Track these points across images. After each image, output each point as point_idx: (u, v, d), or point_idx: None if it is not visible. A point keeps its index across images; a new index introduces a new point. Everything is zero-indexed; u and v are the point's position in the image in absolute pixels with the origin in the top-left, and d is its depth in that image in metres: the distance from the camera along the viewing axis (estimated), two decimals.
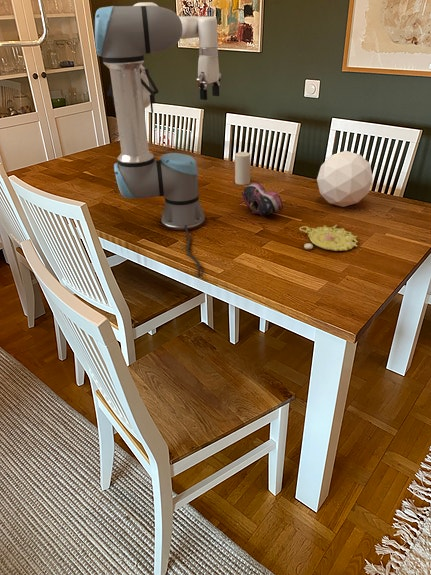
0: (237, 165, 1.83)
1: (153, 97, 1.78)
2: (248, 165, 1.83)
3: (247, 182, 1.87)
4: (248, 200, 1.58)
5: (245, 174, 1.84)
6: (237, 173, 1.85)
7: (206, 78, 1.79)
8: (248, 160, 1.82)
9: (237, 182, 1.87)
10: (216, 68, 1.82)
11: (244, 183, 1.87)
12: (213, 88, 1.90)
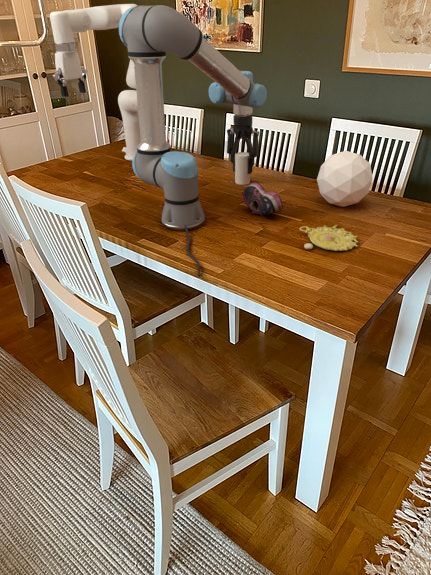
0: (237, 165, 1.83)
1: (251, 160, 1.81)
2: None
3: (247, 182, 1.87)
4: (248, 200, 1.58)
5: (245, 174, 1.84)
6: (237, 173, 1.85)
7: (64, 74, 1.75)
8: None
9: (237, 182, 1.87)
10: (76, 64, 1.78)
11: (244, 183, 1.87)
12: (79, 85, 1.86)
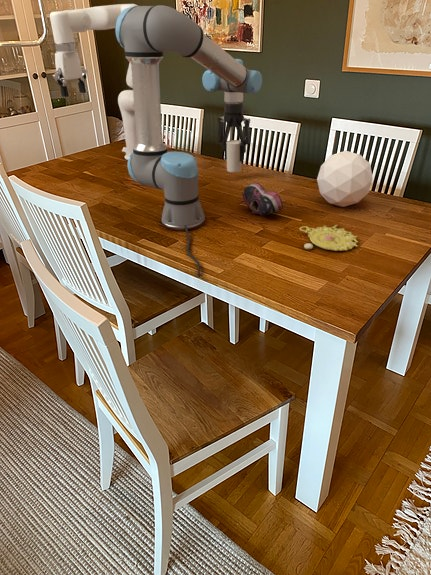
0: (229, 153, 1.86)
1: (243, 147, 1.84)
2: None
3: (239, 170, 1.90)
4: (248, 200, 1.58)
5: (237, 161, 1.87)
6: (229, 161, 1.87)
7: (64, 74, 1.75)
8: (239, 148, 1.85)
9: (229, 170, 1.90)
10: (76, 64, 1.78)
11: (236, 171, 1.89)
12: (79, 85, 1.86)
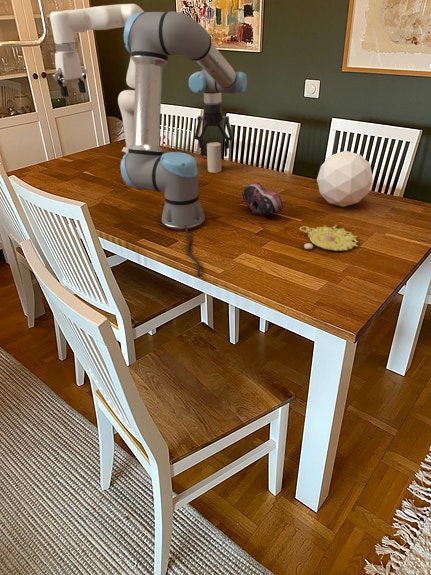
0: (210, 154, 1.97)
1: (227, 143, 1.96)
2: (220, 153, 1.99)
3: (220, 169, 2.02)
4: (248, 200, 1.58)
5: (218, 162, 1.99)
6: (211, 162, 1.99)
7: (64, 74, 1.75)
8: (220, 149, 1.97)
9: (211, 170, 2.01)
10: (76, 64, 1.78)
11: (218, 171, 2.01)
12: (79, 85, 1.86)
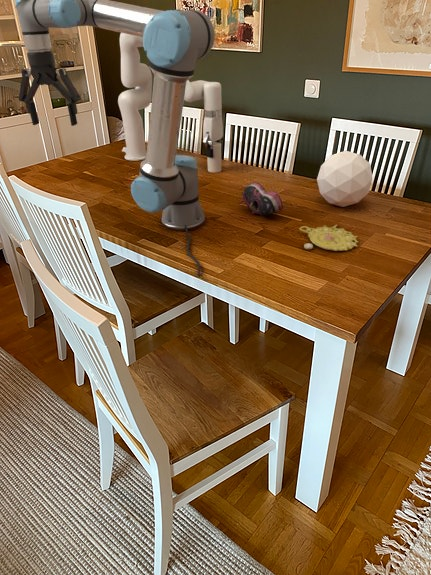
0: None
1: (73, 106, 1.39)
2: (220, 153, 1.99)
3: (220, 169, 2.02)
4: (248, 200, 1.58)
5: (218, 162, 1.99)
6: (211, 162, 1.99)
7: (211, 137, 1.91)
8: (220, 149, 1.97)
9: (211, 170, 2.01)
10: (220, 127, 1.94)
11: (218, 171, 2.01)
12: None
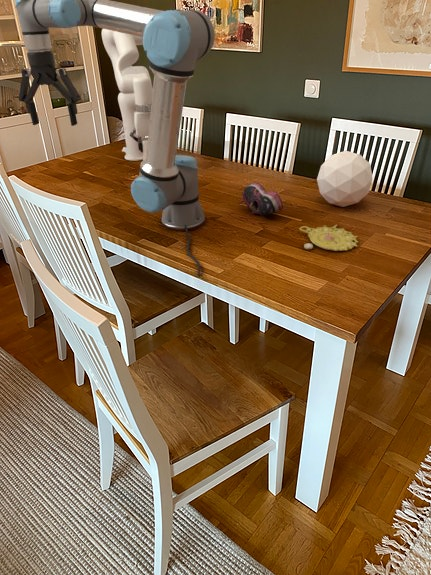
0: (142, 149, 1.96)
1: (73, 106, 1.39)
2: None
3: None
4: (248, 200, 1.58)
5: None
6: None
7: (136, 132, 1.91)
8: None
9: None
10: None
11: None
12: None
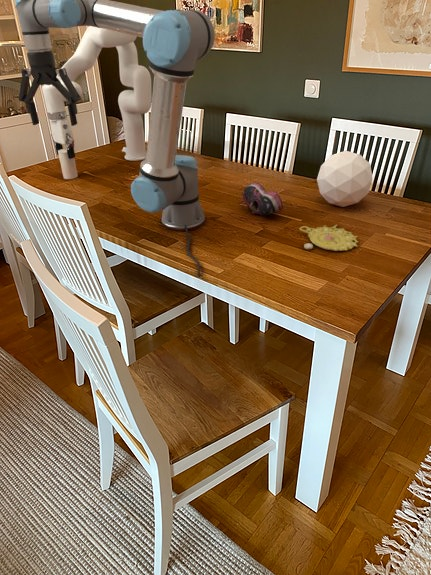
0: None
1: (73, 106, 1.39)
2: (61, 161, 1.95)
3: (64, 177, 2.00)
4: (248, 200, 1.58)
5: None
6: None
7: None
8: (59, 156, 1.94)
9: None
10: (57, 132, 1.88)
11: (63, 176, 2.01)
12: None
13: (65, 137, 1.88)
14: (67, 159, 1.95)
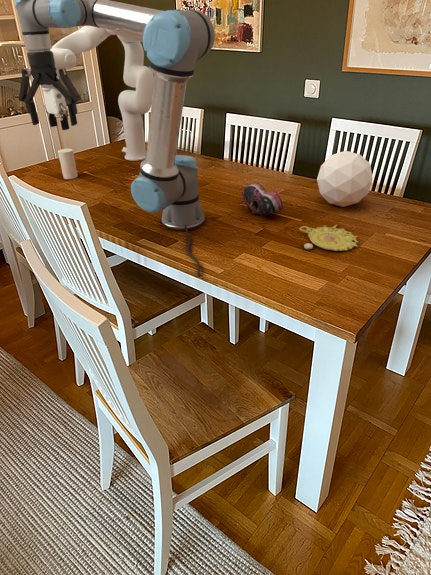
0: None
1: (73, 106, 1.39)
2: (61, 161, 1.95)
3: (64, 177, 2.00)
4: (248, 200, 1.58)
5: None
6: None
7: None
8: (59, 156, 1.94)
9: None
10: (51, 101, 1.81)
11: (63, 176, 2.01)
12: None
13: (59, 107, 1.82)
14: (67, 159, 1.95)
